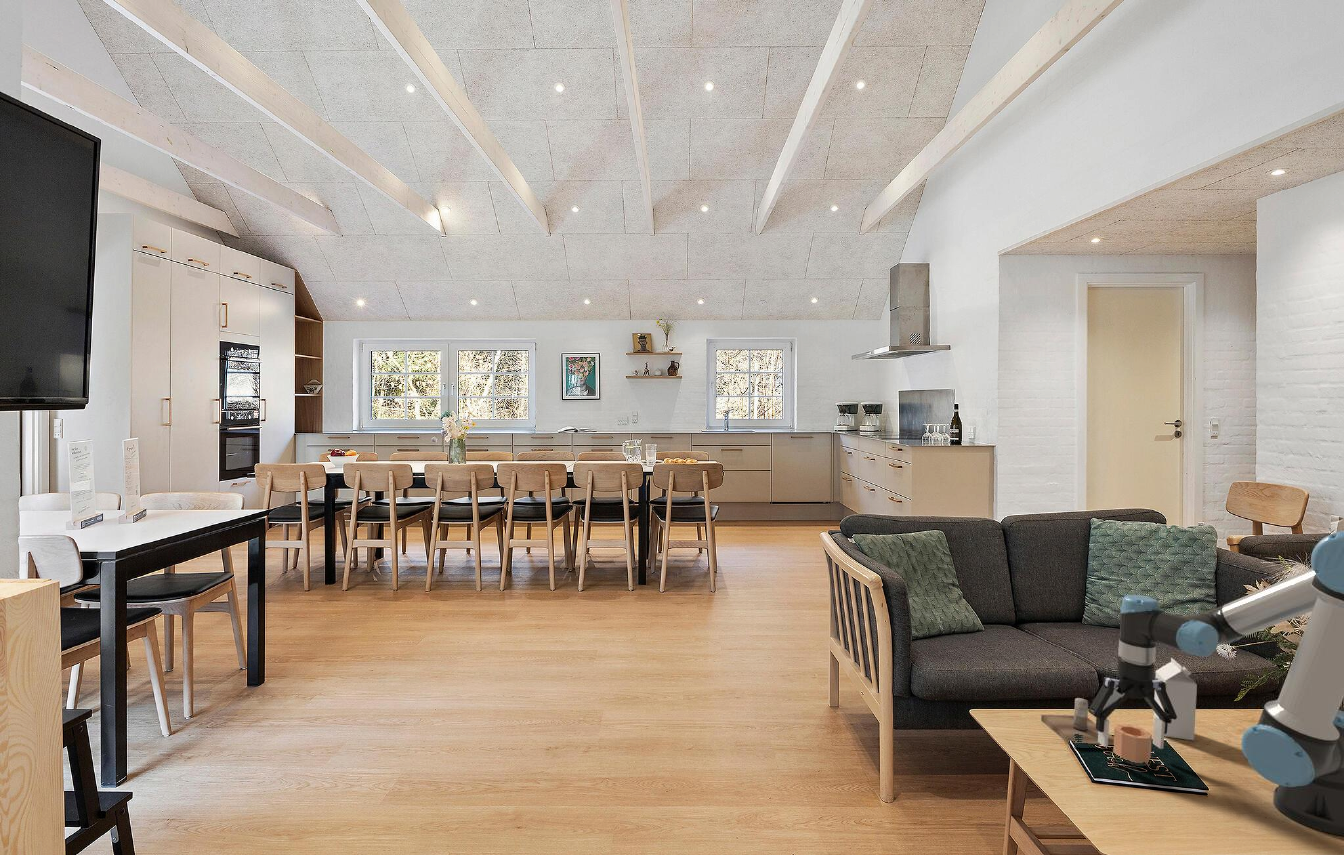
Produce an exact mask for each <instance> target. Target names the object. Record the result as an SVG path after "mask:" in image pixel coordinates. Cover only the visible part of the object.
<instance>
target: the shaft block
mask: <svg viewBox="0 0 1344 855" xmlns="http://www.w3.org/2000/svg"><path fill="white" fill-rule="evenodd" d="M1088 710H1089V700H1087V699H1084V698H1082V697H1081V698H1080V697H1077V698H1075V699H1074V711H1073V712H1074V715H1066V714H1065V715H1059V714H1056V715H1053V714H1041V715H1040V716H1041V718H1040V719H1041V721H1042V722H1043V723H1044V724H1045V725H1046V726H1047V727H1049V729H1050V730H1052V731H1053V732H1055V733H1056V734H1057V735H1058V736H1059V737H1061V738H1062V739H1063V740H1064V741H1065V742H1067V743H1068V744H1069V745H1070V743H1069V741H1070V740H1071V741H1073V742H1074V741H1075V742H1074V743H1088V744H1096V745H1101V744H1100V743H1099V742H1098V730H1097V729H1096V722H1094V721H1093V720H1092V719H1090V718H1088V717H1089V716H1088V714H1089V711H1088ZM1075 734H1079V735H1083V736H1081V737H1083V738H1079V739H1082V740H1079V741H1082V742H1077V741H1078V740H1075V739H1078V738H1075V737H1076V736H1074V735H1075ZM1108 745H1114V735H1112V734H1110V733H1108Z"/></svg>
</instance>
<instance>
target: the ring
mask: <svg viewBox="0 0 1344 855" xmlns="http://www.w3.org/2000/svg"><path fill="white" fill-rule="evenodd" d="M1113 737H1114V746H1113V749H1112V753H1113V752H1114V753H1115V754H1116V755H1118V756H1120V758H1123V759H1125V760H1129V761H1131V762H1135V763H1143V762H1145V763H1148V762H1149V760H1150V758H1151V756H1152V754H1151V753H1152V741H1153V733H1151V732H1150V731H1148V730H1146V729H1145V728H1142V727H1138V726H1135V725H1132V724H1116V725H1115V727H1114V730H1113ZM1151 759H1152V758H1151Z"/></svg>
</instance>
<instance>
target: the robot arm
mask: <svg viewBox="0 0 1344 855" xmlns="http://www.w3.org/2000/svg"><path fill="white" fill-rule="evenodd" d="M1310 557H1311V558H1310V566H1311V568H1309V569H1307V570H1305V571H1302V572H1300V573H1297V574H1295V575H1292V576H1291V577H1288V578H1286V579H1283V580H1281V581H1278V582H1276V583H1273V584H1271V585H1269V586H1265V587H1264V588H1262V589H1260V590H1257V591H1254V592H1252V593H1249V594H1248V595H1245V596H1242V597H1240V598H1237V599H1235V600H1232V601H1230V602H1228V603H1225V604H1223V605H1221V606H1219V607H1216V608H1214V609H1211V610H1209V611H1206V612H1202V613H1201V612H1200V613H1195V614H1188V615H1182V616H1181V615H1177V614H1173V613H1171V612H1166V611H1163V610H1160V604H1159V601H1158V600H1157V599H1155V598H1153V597H1150V596H1147V595H1140V594H1127V595H1125V596H1124V597H1122V601H1121V608H1120V612H1119V613H1120V619H1119V620H1120V624H1119V625H1120V626H1119V638H1118V652H1117V654H1118V658H1117V662H1116V663H1117V664H1116V666H1117V667H1116V672H1117V677H1116V678H1110V677H1109V676H1104V678H1103V680H1102V685H1101V687H1100V689H1099V691H1098V692H1097V694H1096V696H1095V698H1094V699H1093V701H1092V703H1091V704H1090V706H1089V707H1088V714H1091V715H1092V716H1093V717H1095V724H1096V729H1097V730H1098V742H1099V743H1100V744H1101V745H1103V746H1104V747H1108V733H1109V732H1110V731H1109V730H1110V729H1109V728H1110V720H1109V719H1108V718H1109V716H1111V715H1112V713H1114V711H1115V710H1116V709H1117V708H1118V707H1119V706H1120V705H1121V704H1122V703H1123V702H1125V701H1127V700H1128V699H1130V700H1136V699H1137V700H1143V699H1144V700H1145V702H1146V703H1147V704H1148V705H1149V706H1150V708H1151V709H1152V711H1153V713H1154V712H1155V713H1156V714H1157V716H1158V717H1159V718H1157V717H1154V716H1153V720H1154V725H1153V731H1152V745H1155V746H1156V747H1157V748H1158V749H1159V750H1161V749H1162V750H1163V749H1164V745H1165V744H1164V742H1165V736H1164V734H1166V733H1167V727H1168V723H1171V722H1172V720H1171V719H1174V720H1175V719H1177V715H1176V713H1175V711H1174V708H1173V706H1172V704H1171V701H1170V699H1169V697H1168V694H1167V692H1166V683H1165V682H1163V681H1161V680H1160V679H1158V678H1156V677H1155V667H1156V666H1155V664H1154V663H1155V662H1156V652H1157V651H1156V648H1157V644H1160V645H1164V646H1165V647H1169V648H1172V649H1175V650H1178V651H1181V652H1183V653H1185V654H1188V655H1193V656H1198V657H1202V658H1207V657H1210V656H1211V655H1212V654H1213V653H1214V652H1215V651H1216V650H1217V647H1218V646H1219V645H1229V644H1232V643H1235V642H1237V641H1239V640H1241V639H1242V638H1244V637H1246V636H1248V635H1249V636H1250V635H1252V634H1254V633H1256V632H1259V631H1263V630H1264V629H1268V628H1270V627H1273V626H1275V625H1279V624H1281V623H1283V622H1286V621H1289V620H1292V619H1295V618H1298V617H1301V616H1302V615H1305V614H1308V613H1311V614H1310V616H1309V618H1308V621H1307V623H1306V626H1305V629H1304V632H1303V634H1302V636H1301V639H1300V641H1299V645H1298V646H1297V649H1296V652H1295V655H1294V656H1293V660H1292V662H1291V665H1290V668H1289V670H1288V671H1287V672H1288V673H1287V676H1286V678H1285V680H1284V683H1283V685H1282V688H1281V691H1280V693H1279V696H1278V698H1277V699H1275V700H1270V701H1267V702H1266V703H1265V704H1264V707H1263V709H1262V712H1261V714H1260V717H1259V720H1258V722H1257V723H1256V724H1255V725H1251V726H1250V727H1249V728H1247V729H1246V730H1245V732H1243V734H1242V736H1241V743H1240V744H1241V750H1242V754H1243V756H1244V758H1246V760H1247V761H1248V763H1249V765H1250V766H1251V767H1252V769H1253V770H1254V771H1255V772H1256V773H1258V775H1260V776H1261V777H1263V778H1264V779H1266V780H1267V781H1269V782H1270V783H1272V784H1276V785H1277V787H1275V789H1274V791H1273V797H1272V798H1273V799H1272V800H1273V803H1272V804H1273V805H1274V807H1275V808H1276V809H1277V810H1278V811H1279V812H1281V813H1282V814H1283V815H1284V816H1286V817H1288V818H1290V819H1291V820H1293V821H1296V822H1298V823H1299V824H1301V825H1304V826H1306V827H1309V828H1311V829H1314V830H1318V831H1320V832H1324V833H1328V834H1331V835H1335V836H1336V835H1337V836H1343V837H1344V711H1343V710H1340V707H1341V705H1342V702H1343V700H1344V529H1343V530H1339V531H1336V532H1333V533H1331V534H1329V535H1326V536H1325V537H1323V538H1322V539H1320V541H1318V543H1316V544H1315V546H1314V548H1313V549H1312V553H1311V555H1310ZM1238 636H1239V637H1238ZM1153 688H1154V692H1155V691H1156V693H1157V695H1158V698H1159V700H1160V702H1161V705H1162V707H1163V709H1164V711H1163V710H1162V708H1161V707H1160V706H1159V704H1158V703H1157V702H1156V700H1155V696H1154V695H1153V694H1152V693H1151V690H1152V689H1153ZM1109 734H1110V733H1109Z"/></svg>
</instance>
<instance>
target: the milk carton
mask: <svg viewBox="0 0 1344 855" xmlns="http://www.w3.org/2000/svg"><path fill="white" fill-rule="evenodd" d="M1190 675H1192V672H1191V671H1190V670H1189V669H1187V667H1185V666H1182V665H1181V664H1179V662H1178V661H1176V660H1175V659H1174V658H1172V657H1170V662H1168V663H1166V664H1165V665H1163V666H1161V667H1160V668H1158V669H1156V670H1155V678H1158V679H1160V680H1161V681H1163V682H1165V683H1166V692H1167V694H1168V697H1169V699H1170V701H1171V704H1172V706H1173V708H1174V711H1175V713H1176V715H1177V719H1175V720H1174V719H1171V720H1172V722H1171V723H1168V727H1167V733H1166V734H1164V737H1168V738H1174V739H1179V740H1180V739H1182V740H1189V741H1195V730H1196V729H1195V727H1196V726H1195V725H1196V709H1197V707H1196V706H1197V693H1198V692H1197V691H1198V690H1197V687H1198V685H1197V683H1196V682H1195V681H1194V680H1193V679H1192V678H1191V677H1189V676H1190ZM1154 698H1155V700H1156V702H1157V703H1158V704H1159V706H1160V707H1161V708H1162V710H1163V711H1164V709H1163V707H1162V705H1161V702H1160V700H1159V698H1158V695H1157V693H1156V691H1155V690H1154ZM1154 717H1157V718H1159V717H1158V716H1157V714H1156V713H1155V712H1154V711H1153V718H1154ZM1152 722H1153V723H1152V724H1153V726H1154V719H1153V721H1152Z"/></svg>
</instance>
